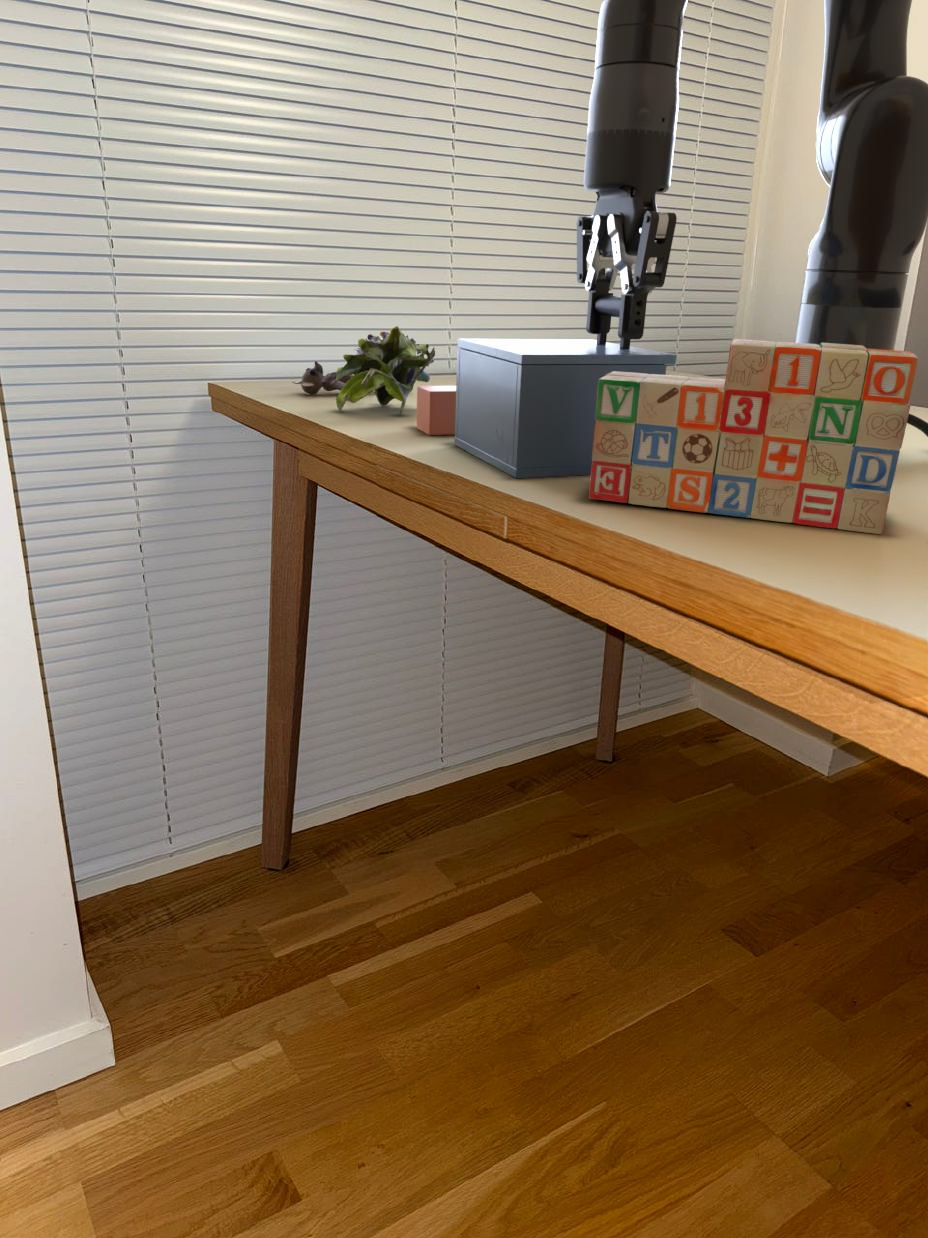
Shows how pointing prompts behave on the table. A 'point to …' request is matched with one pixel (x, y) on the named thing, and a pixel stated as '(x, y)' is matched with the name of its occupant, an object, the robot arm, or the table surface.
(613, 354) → the lid
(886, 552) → the table surface
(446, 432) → the block
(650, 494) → the stack of blocks
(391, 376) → the green leafy plant
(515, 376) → the blue-grey open box
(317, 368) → the grey irregular figure
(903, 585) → the table surface
